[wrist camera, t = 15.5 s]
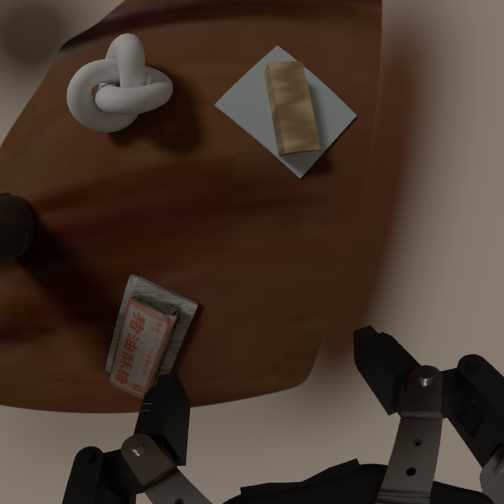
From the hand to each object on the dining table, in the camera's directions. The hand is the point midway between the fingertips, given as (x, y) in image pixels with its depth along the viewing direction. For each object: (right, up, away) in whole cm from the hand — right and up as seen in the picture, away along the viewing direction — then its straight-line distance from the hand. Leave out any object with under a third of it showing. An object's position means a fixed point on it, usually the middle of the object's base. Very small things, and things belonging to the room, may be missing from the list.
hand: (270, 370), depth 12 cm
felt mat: (+4, +23, +21) cm, 31 cm away
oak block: (+5, +17, +20) cm, 26 cm away
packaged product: (-16, -7, +27) cm, 32 cm away
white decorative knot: (-17, +25, +19) cm, 35 cm away
